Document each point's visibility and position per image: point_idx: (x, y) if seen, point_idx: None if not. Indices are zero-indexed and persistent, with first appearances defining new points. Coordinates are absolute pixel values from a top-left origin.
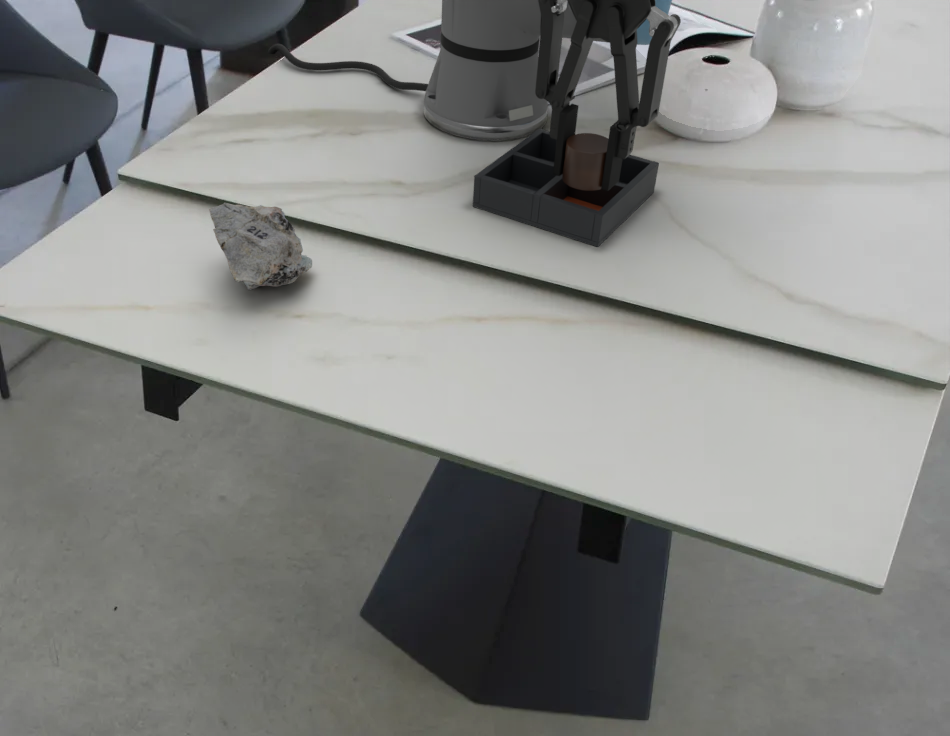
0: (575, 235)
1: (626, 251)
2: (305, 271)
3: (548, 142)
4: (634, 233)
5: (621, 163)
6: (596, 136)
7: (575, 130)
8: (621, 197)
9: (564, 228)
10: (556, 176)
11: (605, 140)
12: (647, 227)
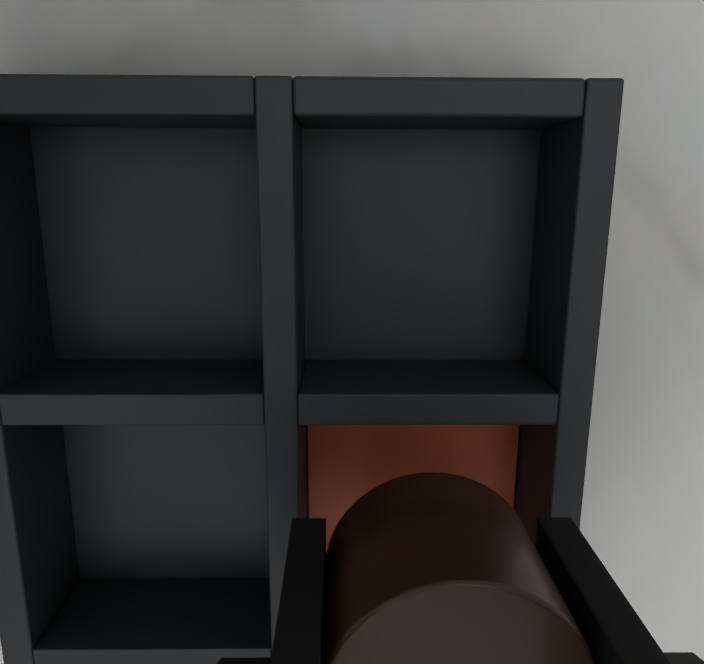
0: None
1: (615, 559)
2: None
3: (25, 119)
4: (601, 444)
5: (606, 573)
6: (455, 618)
7: (319, 646)
8: (579, 510)
9: None
10: (271, 500)
11: (524, 634)
12: (628, 381)
